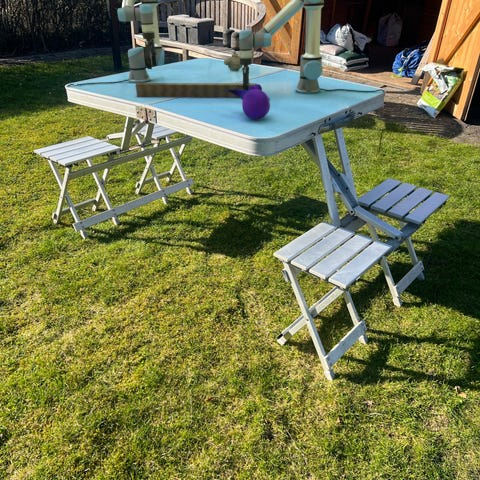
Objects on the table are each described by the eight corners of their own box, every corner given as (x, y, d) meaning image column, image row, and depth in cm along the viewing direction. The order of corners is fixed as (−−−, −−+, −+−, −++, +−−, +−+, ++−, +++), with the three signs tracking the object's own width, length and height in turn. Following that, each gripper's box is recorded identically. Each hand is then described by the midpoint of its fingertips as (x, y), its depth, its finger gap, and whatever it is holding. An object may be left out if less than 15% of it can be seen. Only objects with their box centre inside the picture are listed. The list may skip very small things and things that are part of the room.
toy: (252, 108, 261) (269, 126, 240) (224, 103, 254) (239, 121, 233) (259, 81, 253) (278, 97, 232) (231, 75, 246) (247, 91, 225)
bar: (137, 96, 294) (135, 84, 290) (139, 95, 299) (138, 82, 295) (255, 97, 286) (255, 85, 282) (256, 95, 290) (256, 83, 286)
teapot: (227, 73, 361) (227, 53, 353) (221, 70, 369) (220, 51, 362) (250, 70, 370) (250, 50, 362) (243, 68, 378) (242, 49, 371)
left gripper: (149, 33, 273) (153, 70, 284) (158, 30, 295) (161, 64, 305) (137, 33, 274) (141, 70, 284) (147, 30, 295) (151, 64, 306)
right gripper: (250, 60, 268) (250, 99, 280) (253, 55, 284) (253, 92, 296) (237, 60, 269) (238, 99, 281) (241, 55, 285) (242, 92, 297)
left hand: (152, 67), depth 295 cm, fingers open, 13 cm apart
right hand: (246, 96), depth 288 cm, fingers closed on bar, 6 cm apart
